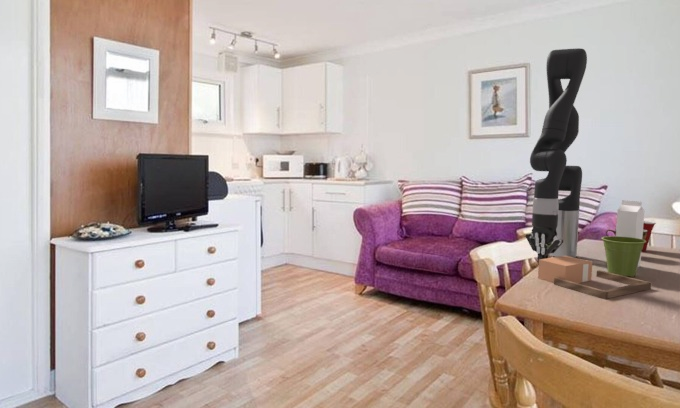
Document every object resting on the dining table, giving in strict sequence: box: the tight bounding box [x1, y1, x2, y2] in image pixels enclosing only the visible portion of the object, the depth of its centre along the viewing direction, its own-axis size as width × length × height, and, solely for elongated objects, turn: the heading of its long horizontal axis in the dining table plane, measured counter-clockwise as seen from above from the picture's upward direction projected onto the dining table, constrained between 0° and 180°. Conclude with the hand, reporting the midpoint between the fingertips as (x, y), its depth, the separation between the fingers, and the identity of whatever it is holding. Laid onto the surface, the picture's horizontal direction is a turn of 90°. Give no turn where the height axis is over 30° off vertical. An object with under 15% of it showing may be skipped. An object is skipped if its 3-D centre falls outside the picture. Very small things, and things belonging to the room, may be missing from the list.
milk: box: [615, 199, 645, 268], centre depth 152 cm, size 6×6×22 cm
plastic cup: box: [641, 220, 657, 252], centre depth 179 cm, size 11×11×12 cm
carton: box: [537, 256, 593, 284], centre depth 136 cm, size 9×12×6 cm
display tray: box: [553, 269, 652, 300], centre depth 129 cm, size 15×20×2 cm
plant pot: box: [600, 235, 646, 278], centre depth 142 cm, size 12×12×11 cm
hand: (542, 265), depth 147 cm, fingers closed
